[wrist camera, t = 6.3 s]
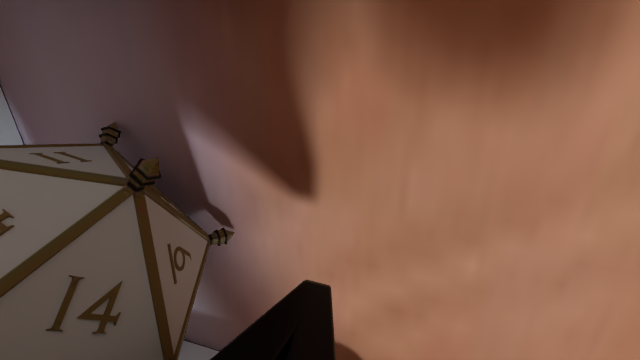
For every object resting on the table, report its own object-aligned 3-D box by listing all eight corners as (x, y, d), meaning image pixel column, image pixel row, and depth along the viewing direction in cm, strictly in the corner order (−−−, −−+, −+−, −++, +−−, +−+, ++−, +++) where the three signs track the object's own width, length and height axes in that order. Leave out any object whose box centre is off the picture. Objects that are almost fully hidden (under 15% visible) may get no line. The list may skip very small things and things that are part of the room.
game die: (222, 120, 14) (144, 20, 5) (255, 317, 15) (250, 605, 5) (-23, 151, 13) (-911, 102, 3) (24, 368, 13) (-606, 912, 4)
